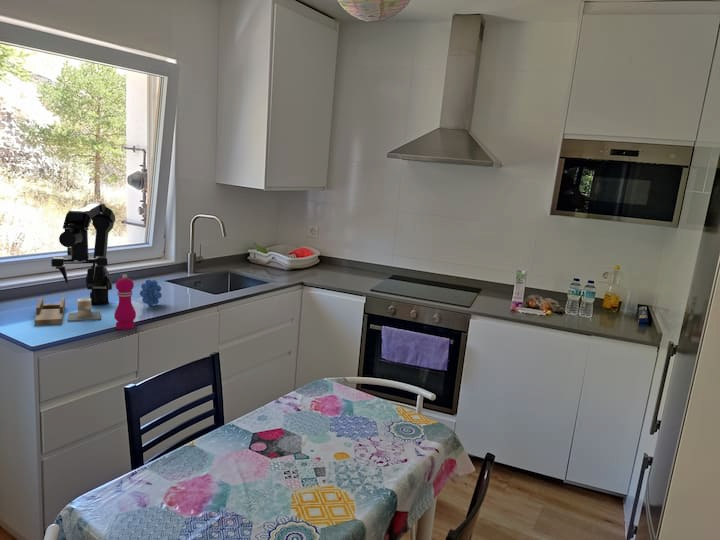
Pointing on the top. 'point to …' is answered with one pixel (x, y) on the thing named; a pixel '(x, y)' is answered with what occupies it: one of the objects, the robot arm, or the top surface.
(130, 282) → the pepper mill
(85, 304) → the maple block
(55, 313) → the walnut trough
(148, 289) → the grapes
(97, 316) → the slate pad
